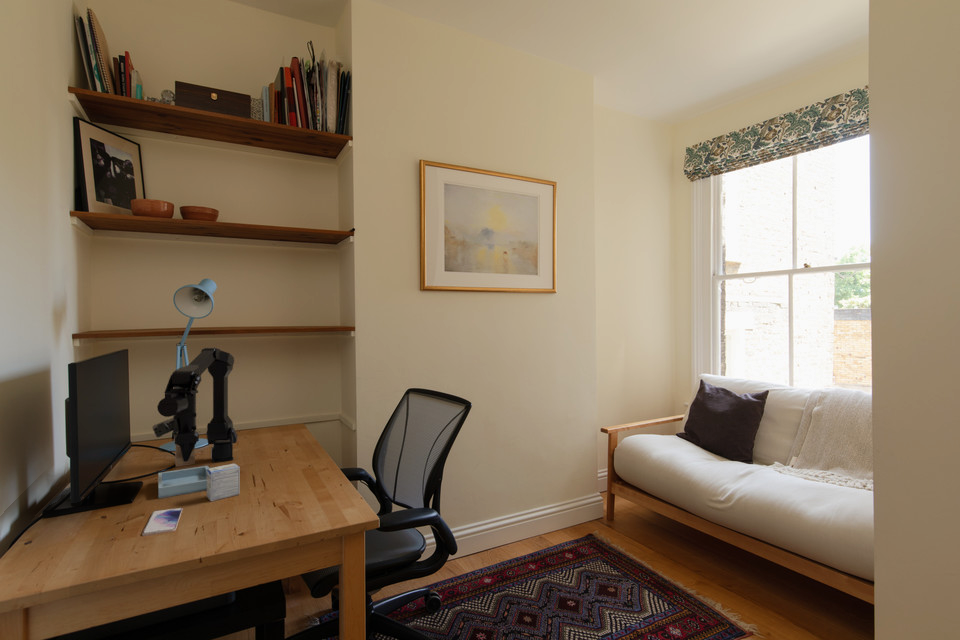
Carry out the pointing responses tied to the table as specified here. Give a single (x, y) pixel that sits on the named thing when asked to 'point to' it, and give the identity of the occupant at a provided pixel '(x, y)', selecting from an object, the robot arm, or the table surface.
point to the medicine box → (223, 481)
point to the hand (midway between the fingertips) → (185, 459)
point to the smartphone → (162, 521)
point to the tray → (182, 481)
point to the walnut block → (179, 457)
